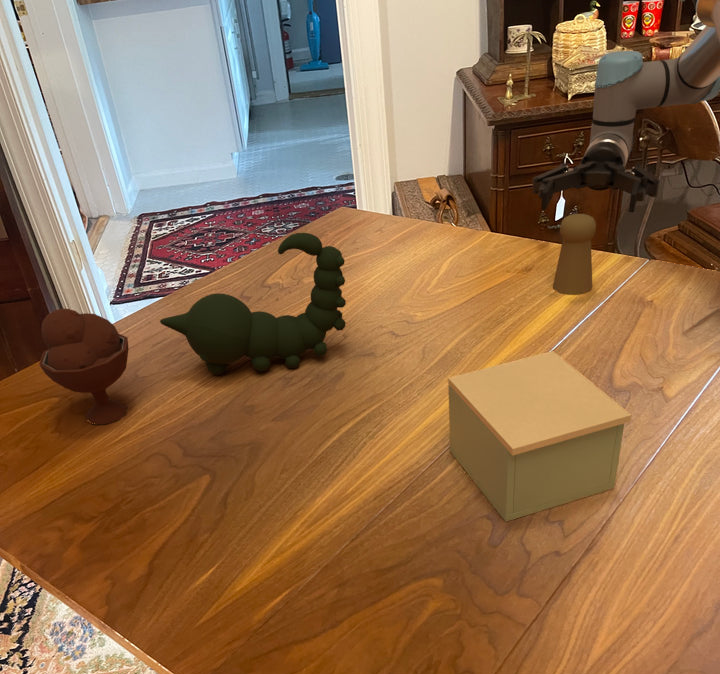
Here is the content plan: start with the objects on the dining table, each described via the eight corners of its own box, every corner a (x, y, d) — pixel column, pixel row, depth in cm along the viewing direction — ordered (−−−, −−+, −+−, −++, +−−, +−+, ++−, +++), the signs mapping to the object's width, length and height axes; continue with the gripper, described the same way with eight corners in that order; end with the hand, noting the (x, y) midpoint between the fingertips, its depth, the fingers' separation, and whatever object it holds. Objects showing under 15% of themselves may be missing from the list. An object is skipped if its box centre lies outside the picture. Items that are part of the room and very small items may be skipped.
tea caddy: (614, 488, 76) (625, 417, 71) (505, 522, 74) (508, 451, 68) (547, 423, 87) (552, 357, 81) (449, 450, 84) (448, 384, 79)
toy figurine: (339, 346, 110) (170, 360, 107) (337, 219, 99) (147, 230, 96) (350, 376, 103) (168, 392, 100) (348, 242, 92) (143, 255, 88)
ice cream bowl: (94, 446, 92) (52, 338, 83) (50, 418, 98) (7, 315, 89) (163, 408, 97) (131, 303, 88) (118, 384, 104) (83, 284, 95)
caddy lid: (630, 421, 70) (631, 414, 70) (512, 455, 68) (512, 448, 67) (552, 356, 81) (552, 350, 81) (448, 384, 79) (447, 377, 78)
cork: (567, 275, 119) (573, 207, 112) (600, 284, 115) (608, 214, 109) (544, 288, 116) (549, 218, 109) (577, 297, 112) (584, 226, 106)
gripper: (674, 186, 130) (667, 229, 115) (532, 183, 138) (508, 222, 123) (682, 140, 125) (675, 179, 110) (534, 140, 134) (509, 176, 118)
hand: (587, 202), depth 117 cm, fingers open, 13 cm apart
